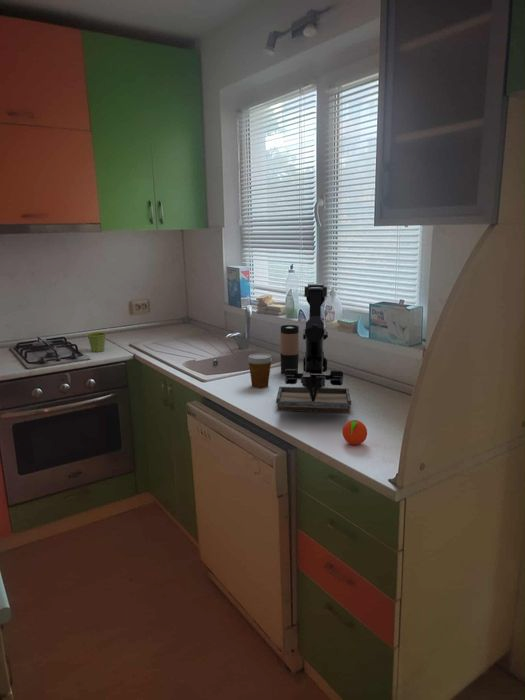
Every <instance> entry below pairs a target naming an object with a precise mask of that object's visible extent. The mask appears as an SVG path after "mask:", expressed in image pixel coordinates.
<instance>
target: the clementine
mask: <svg viewBox="0 0 525 700" xmlns="http://www.w3.org/2000/svg"><path fill="white" fill-rule="evenodd" d="M341 434H342V437H343V439H344V441H346V442H347V443H348V445H353V446H357V445H358V446H359V445H360V444H362V443H364V442H365V440H366V439H367V436H368V429H367V427H366V425H365V424H364V423H363V422H362V421H360V420H358V419H352V420H349V421H347V422H346V423H345V424H344V426H343V428H342V433H341Z"/></svg>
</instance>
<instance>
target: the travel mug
mask: <svg viewBox="0 0 525 700" xmlns="http://www.w3.org/2000/svg"><path fill="white" fill-rule="evenodd" d="M299 328H300V327H299V325H295V324H283V325H281V326H280V350H279V351H280V373H281V374H282V375H284V374H285V370H286V369H297V373H299V357H300V356H299V353H300V352H299V350H300V349H299V345H300V342H299V341H300V340H299V333H300V331H299Z"/></svg>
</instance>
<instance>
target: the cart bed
mask: <svg viewBox="0 0 525 700" xmlns="http://www.w3.org/2000/svg"><path fill="white" fill-rule="evenodd" d="M313 394H314V388H313ZM276 395H277V396H276V399H275V400H276V402H275V403H276V405H277V411H289V412H291V411H292V412H321V413H324V412H325V413H326V412H327V413H350V409H351V408H350V407H351V406H352V398H351V393H350V388H349V387H345V388H343V387H321V388H320V389H319V391H318V393H317V396H316V399H315V401H321V402H347V403H349V409H345V408H312V407H278V401H280V400H286V401H312V400H311V397H310V394H309V391H308V389H307V387H304V386H279V387H278V391H277V394H276Z"/></svg>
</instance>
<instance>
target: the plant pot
mask: <svg viewBox="0 0 525 700" xmlns="http://www.w3.org/2000/svg"><path fill="white" fill-rule="evenodd" d="M106 335H107V333H106V332H103V331H102V332H90V333H88V334H86V337H87V339H88V342H89V346H90V351H91V352H93V353H95V352H96V353H102V352H103V351H105V341H106Z"/></svg>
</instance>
